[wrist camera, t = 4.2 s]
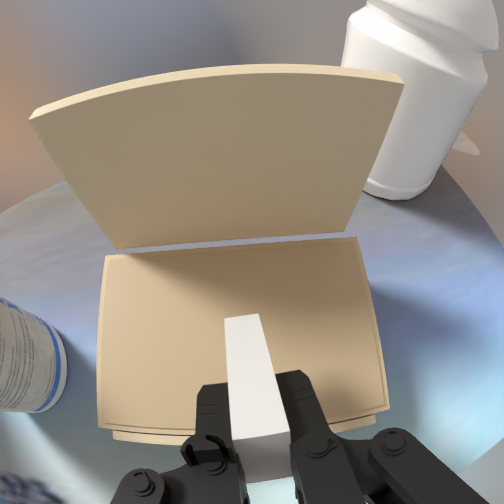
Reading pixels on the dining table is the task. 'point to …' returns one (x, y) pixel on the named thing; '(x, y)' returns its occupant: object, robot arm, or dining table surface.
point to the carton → (213, 331)
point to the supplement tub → (29, 361)
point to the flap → (222, 150)
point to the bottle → (422, 80)
